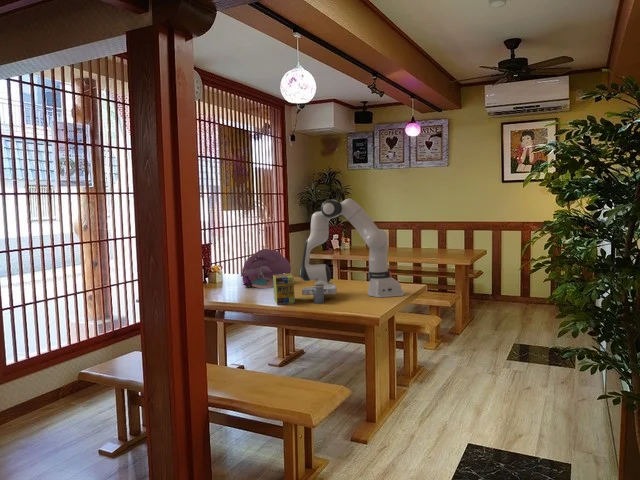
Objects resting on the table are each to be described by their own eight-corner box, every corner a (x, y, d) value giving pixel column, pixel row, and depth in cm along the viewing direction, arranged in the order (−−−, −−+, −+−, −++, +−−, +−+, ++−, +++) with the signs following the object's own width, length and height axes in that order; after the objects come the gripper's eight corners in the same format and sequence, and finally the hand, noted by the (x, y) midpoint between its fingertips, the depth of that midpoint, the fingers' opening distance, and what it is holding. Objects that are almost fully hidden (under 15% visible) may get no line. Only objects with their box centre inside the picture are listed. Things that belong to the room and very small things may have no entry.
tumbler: (325, 301, 287) (324, 284, 286) (324, 303, 281) (323, 286, 280) (314, 301, 288) (313, 284, 287) (312, 304, 281) (312, 286, 280)
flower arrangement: (254, 297, 333) (253, 258, 324) (232, 288, 348) (231, 249, 340) (291, 284, 357) (292, 246, 349) (270, 275, 372) (269, 239, 364)
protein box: (277, 305, 284) (275, 278, 282) (274, 299, 299) (272, 274, 297) (295, 303, 286) (293, 276, 284) (291, 298, 301) (290, 273, 299)
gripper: (303, 284, 297) (300, 288, 284) (337, 282, 295) (335, 287, 282) (303, 294, 298) (300, 299, 284) (337, 293, 296) (336, 298, 282)
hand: (318, 293), depth 283 cm, fingers closed on tumbler, 6 cm apart
